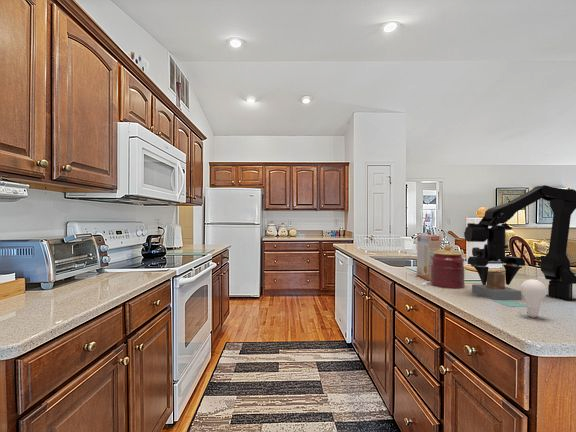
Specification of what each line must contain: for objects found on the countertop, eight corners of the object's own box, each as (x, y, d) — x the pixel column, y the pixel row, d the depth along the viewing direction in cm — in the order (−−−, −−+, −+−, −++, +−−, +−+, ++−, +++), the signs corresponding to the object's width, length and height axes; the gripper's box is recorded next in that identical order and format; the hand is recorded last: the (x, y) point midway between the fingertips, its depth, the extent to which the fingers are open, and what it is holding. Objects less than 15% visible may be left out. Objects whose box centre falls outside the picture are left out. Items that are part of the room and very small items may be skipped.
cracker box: (441, 281, 151) (441, 235, 151) (427, 281, 151) (428, 235, 151) (428, 275, 165) (428, 234, 165) (416, 275, 165) (416, 233, 165)
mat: (512, 302, 113) (512, 300, 113) (529, 308, 106) (529, 306, 106) (493, 302, 112) (493, 300, 112) (509, 308, 105) (509, 306, 105)
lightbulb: (547, 321, 92) (548, 282, 92) (520, 318, 95) (521, 279, 95) (544, 316, 97) (545, 279, 97) (519, 313, 100) (519, 276, 100)
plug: (496, 294, 123) (496, 271, 123) (505, 297, 118) (505, 273, 118) (486, 294, 122) (486, 271, 122) (494, 297, 118) (494, 273, 118)
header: (496, 293, 127) (496, 284, 127) (521, 301, 115) (521, 291, 115) (471, 293, 126) (472, 284, 126) (494, 301, 114) (494, 291, 114)
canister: (436, 289, 133) (436, 245, 133) (426, 283, 146) (426, 243, 146) (470, 290, 131) (470, 246, 131) (457, 284, 144) (457, 243, 144)
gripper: (503, 240, 129) (502, 280, 129) (458, 240, 128) (458, 280, 127) (526, 242, 118) (526, 286, 118) (477, 242, 116) (477, 286, 116)
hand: (495, 284), depth 120 cm, fingers open, 9 cm apart
